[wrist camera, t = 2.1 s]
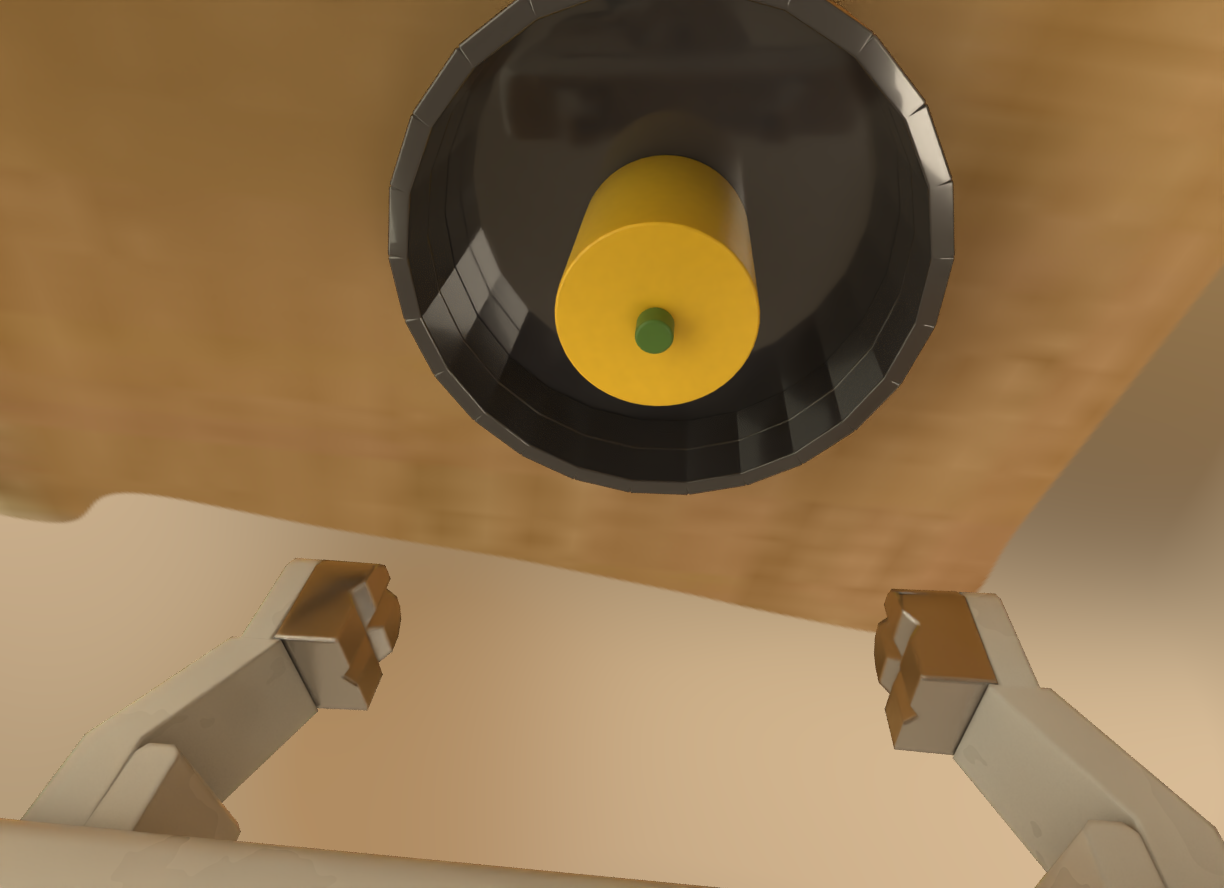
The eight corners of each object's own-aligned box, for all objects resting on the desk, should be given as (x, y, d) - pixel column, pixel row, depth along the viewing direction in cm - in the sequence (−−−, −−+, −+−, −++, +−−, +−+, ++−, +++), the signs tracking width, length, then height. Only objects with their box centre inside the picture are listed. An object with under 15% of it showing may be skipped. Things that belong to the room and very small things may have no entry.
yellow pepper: (576, 155, 21) (538, 235, 16) (755, 153, 21) (772, 234, 16) (587, 314, 25) (558, 421, 20) (742, 316, 24) (752, 426, 19)
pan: (379, -41, 19) (315, -28, 16) (981, -69, 17) (1042, -61, 14) (473, 421, 29) (445, 486, 25) (866, 432, 27) (887, 503, 24)
